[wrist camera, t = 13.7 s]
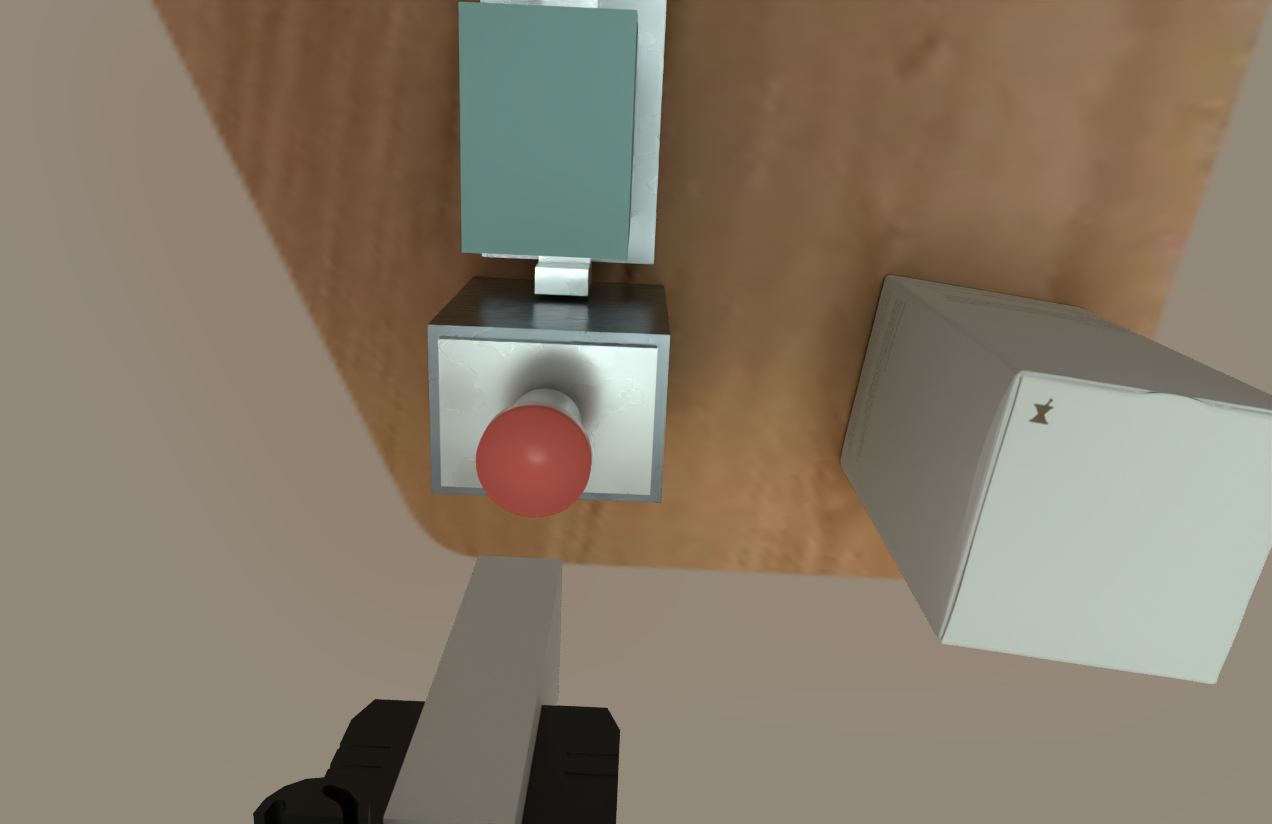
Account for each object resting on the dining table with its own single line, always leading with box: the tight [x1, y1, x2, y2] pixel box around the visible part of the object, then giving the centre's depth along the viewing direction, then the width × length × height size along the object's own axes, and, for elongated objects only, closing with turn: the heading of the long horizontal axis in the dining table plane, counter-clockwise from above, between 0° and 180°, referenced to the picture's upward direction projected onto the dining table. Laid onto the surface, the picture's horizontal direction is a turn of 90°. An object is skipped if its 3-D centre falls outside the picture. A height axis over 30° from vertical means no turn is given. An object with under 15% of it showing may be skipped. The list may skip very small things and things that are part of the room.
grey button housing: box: [428, 277, 670, 503], centre depth 37 cm, size 6×8×9 cm
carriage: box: [459, 2, 638, 260], centre depth 33 cm, size 7×5×10 cm
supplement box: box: [840, 275, 1272, 684], centre depth 35 cm, size 9×9×15 cm
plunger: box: [476, 388, 592, 517], centre depth 30 cm, size 3×3×4 cm
